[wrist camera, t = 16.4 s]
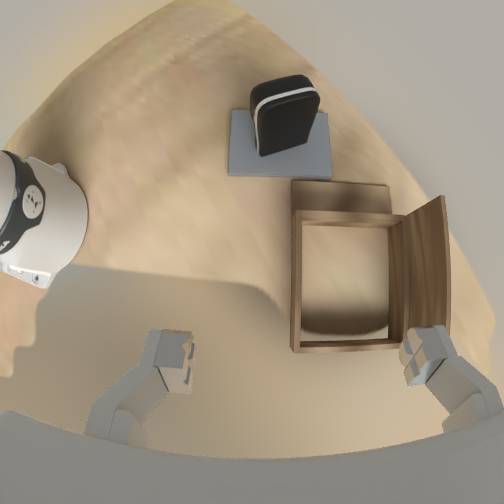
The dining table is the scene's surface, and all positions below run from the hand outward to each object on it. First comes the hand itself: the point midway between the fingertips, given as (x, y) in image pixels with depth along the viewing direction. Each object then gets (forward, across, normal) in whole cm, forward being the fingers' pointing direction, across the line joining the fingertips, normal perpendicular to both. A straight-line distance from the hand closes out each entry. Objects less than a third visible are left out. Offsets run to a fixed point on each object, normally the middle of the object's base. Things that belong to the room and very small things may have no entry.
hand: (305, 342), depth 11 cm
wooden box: (+22, -9, +14) cm, 28 cm away
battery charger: (+33, -1, +3) cm, 33 cm away
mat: (+33, -1, +3) cm, 33 cm away
